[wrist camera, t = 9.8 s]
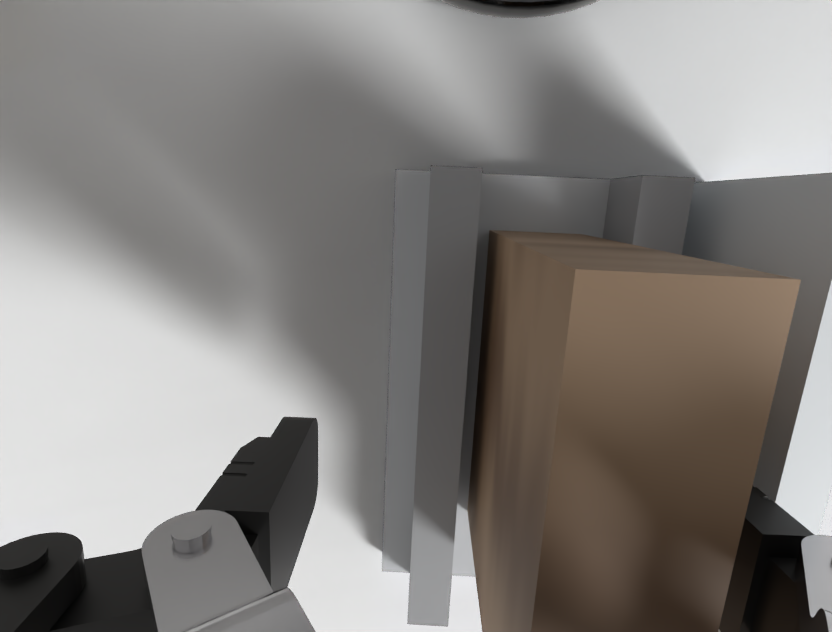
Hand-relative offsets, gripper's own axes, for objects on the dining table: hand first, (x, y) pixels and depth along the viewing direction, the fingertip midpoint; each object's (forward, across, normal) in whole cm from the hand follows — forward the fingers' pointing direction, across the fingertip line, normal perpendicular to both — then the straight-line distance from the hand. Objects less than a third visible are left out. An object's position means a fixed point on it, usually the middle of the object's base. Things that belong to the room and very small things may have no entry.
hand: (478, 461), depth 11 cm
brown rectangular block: (+4, -2, -1) cm, 4 cm away
